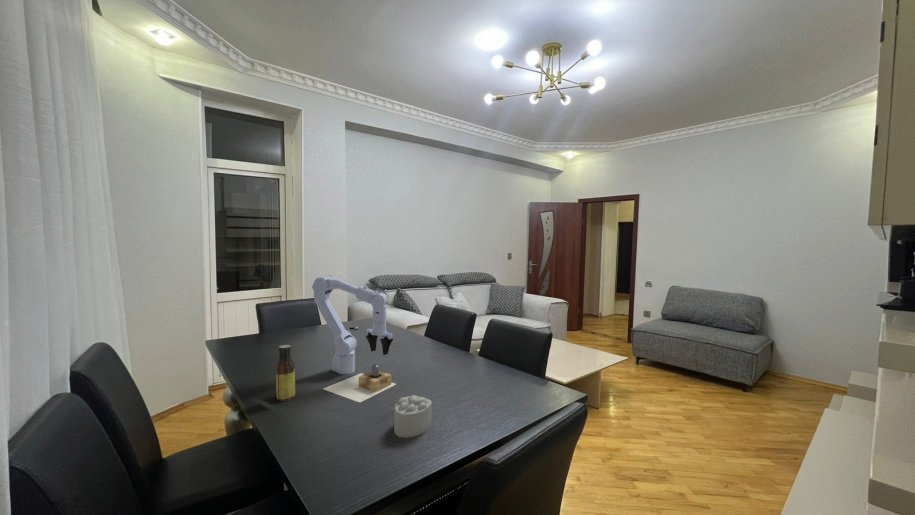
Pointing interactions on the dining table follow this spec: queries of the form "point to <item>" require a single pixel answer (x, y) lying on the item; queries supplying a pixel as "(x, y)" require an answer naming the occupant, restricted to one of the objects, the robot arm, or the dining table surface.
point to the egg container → (412, 416)
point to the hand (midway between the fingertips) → (379, 352)
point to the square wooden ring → (375, 381)
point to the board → (353, 389)
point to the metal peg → (375, 371)
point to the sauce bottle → (285, 374)
